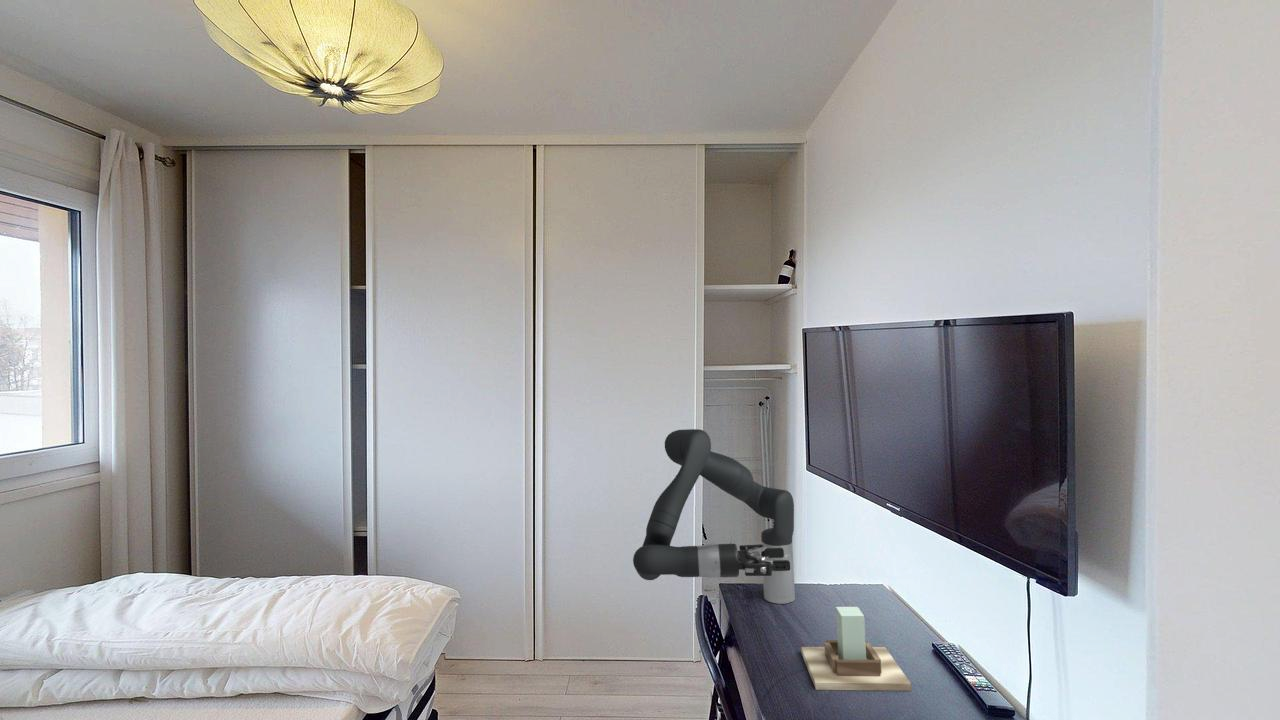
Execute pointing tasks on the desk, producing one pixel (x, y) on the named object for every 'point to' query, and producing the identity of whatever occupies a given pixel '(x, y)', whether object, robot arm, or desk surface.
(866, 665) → the socket board
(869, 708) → the desk surface
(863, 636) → the pillar
